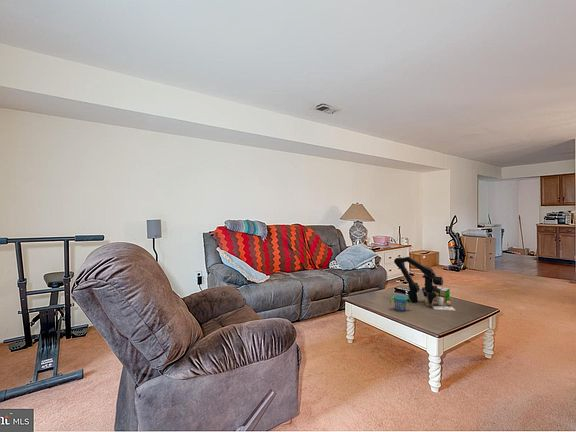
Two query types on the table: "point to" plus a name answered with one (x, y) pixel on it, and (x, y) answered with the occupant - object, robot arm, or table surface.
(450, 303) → the rubber ball
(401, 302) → the snack cup
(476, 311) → the table surface
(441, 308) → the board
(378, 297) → the table surface
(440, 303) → the ceramic cylinder
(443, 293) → the puzzle cube
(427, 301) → the maple block
